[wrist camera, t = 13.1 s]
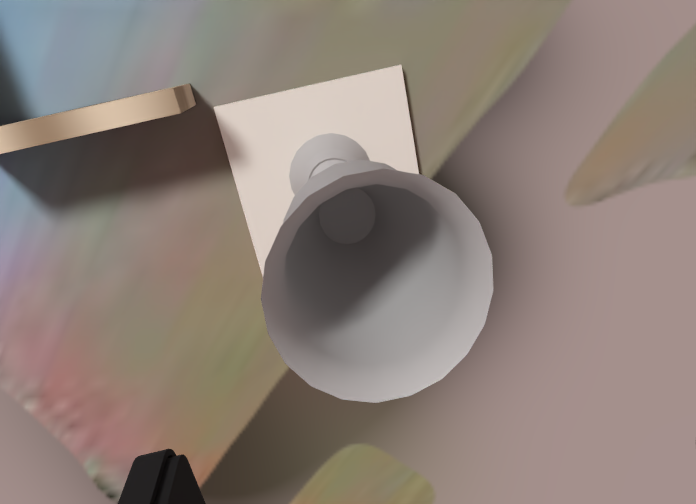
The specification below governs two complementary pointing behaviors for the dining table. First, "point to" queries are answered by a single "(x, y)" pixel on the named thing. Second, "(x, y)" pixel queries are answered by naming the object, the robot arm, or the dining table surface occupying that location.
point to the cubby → (95, 118)
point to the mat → (304, 124)
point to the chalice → (373, 275)
